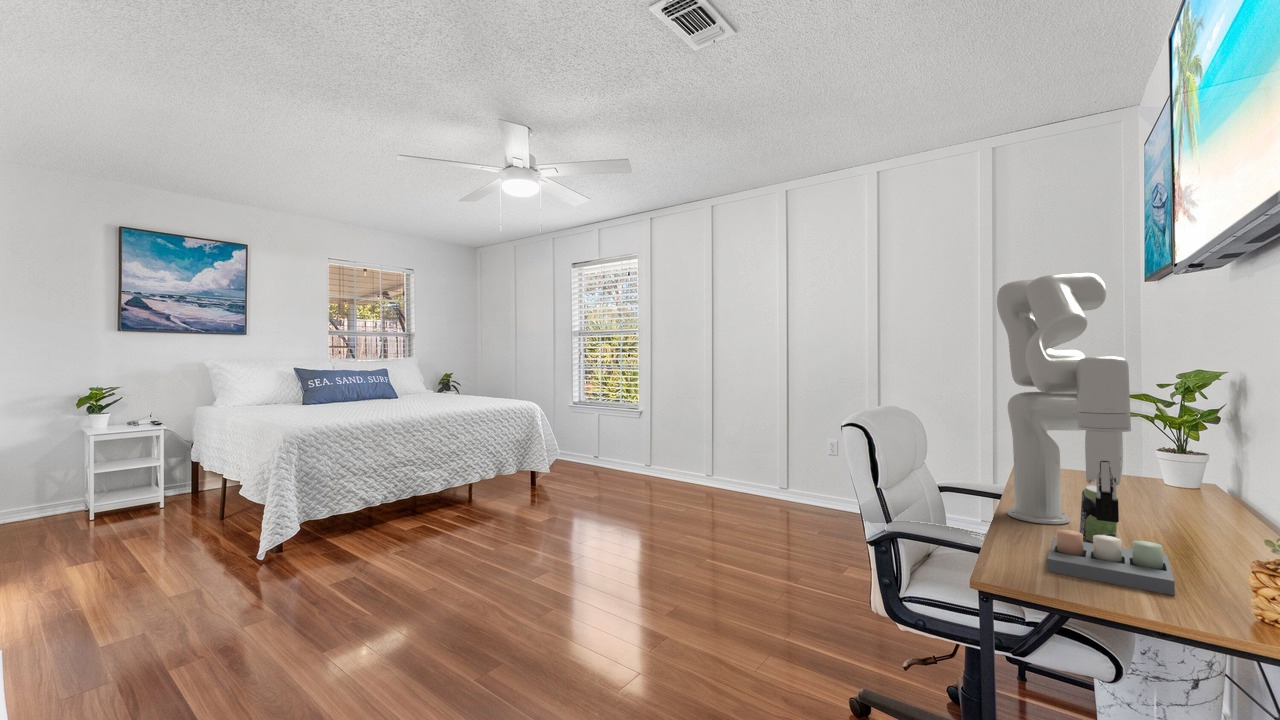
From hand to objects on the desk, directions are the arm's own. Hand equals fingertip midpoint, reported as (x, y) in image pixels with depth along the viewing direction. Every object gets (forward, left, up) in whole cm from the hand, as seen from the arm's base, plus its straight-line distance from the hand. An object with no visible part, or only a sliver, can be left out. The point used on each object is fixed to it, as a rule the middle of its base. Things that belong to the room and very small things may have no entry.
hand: (1107, 520), depth 101 cm
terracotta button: (0, -6, -7) cm, 9 cm away
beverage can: (-20, -2, -10) cm, 23 cm away
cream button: (0, 0, -7) cm, 7 cm away
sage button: (0, +5, -7) cm, 9 cm away
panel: (-1, 0, -10) cm, 10 cm away
